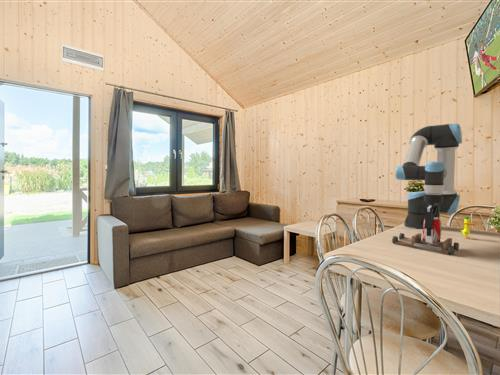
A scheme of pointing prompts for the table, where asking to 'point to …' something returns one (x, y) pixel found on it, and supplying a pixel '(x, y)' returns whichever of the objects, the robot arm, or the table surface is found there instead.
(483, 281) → the table surface
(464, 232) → the toy figure
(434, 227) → the soda can
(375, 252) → the table surface
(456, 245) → the chassis
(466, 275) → the table surface
